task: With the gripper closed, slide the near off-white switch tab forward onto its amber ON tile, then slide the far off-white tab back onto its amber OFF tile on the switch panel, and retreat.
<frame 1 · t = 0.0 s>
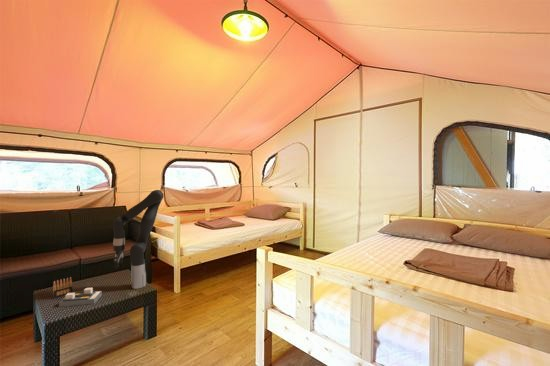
hand: (118, 265, 192), 17 cm above the table, tool pointing down, fingers open, 8 cm apart
switch panel: (81, 300, 174), on the table
switch a: (88, 291, 177), point 5 cm above the table, slide at 0.0 cm
switch b: (70, 296, 169), point 5 cm above the table, slide at 8.0 cm
ammunition clip: (63, 295, 181), on the table
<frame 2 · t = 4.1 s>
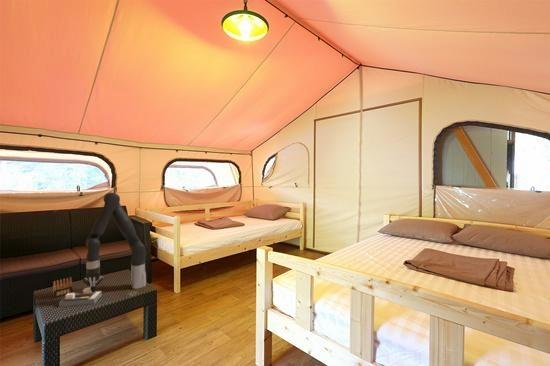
hand: (93, 291, 178), 5 cm above the table, tool pointing down, fingers closed
switch a: (87, 291, 177), point 5 cm above the table, slide at 0.6 cm, touching gripper
everything else where it was.
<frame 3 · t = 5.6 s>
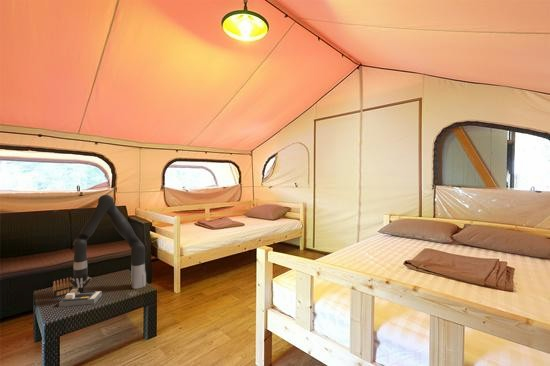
hand: (81, 292, 176), 5 cm above the table, tool pointing down, fingers closed
switch a: (74, 292, 175), point 5 cm above the table, slide at 8.1 cm, touching gripper
everything else where it was.
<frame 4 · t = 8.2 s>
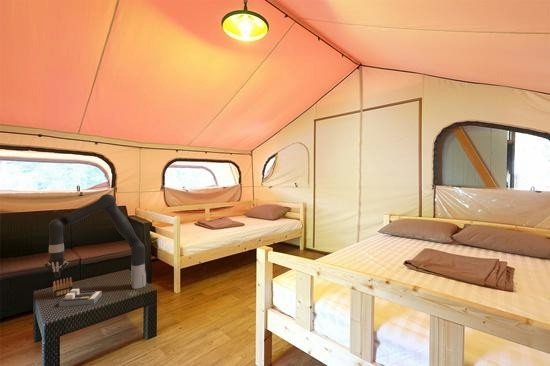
hand: (57, 276, 167), 19 cm above the table, tool pointing down, fingers closed
switch a: (74, 292, 175), point 5 cm above the table, slide at 8.1 cm
everything else where it was.
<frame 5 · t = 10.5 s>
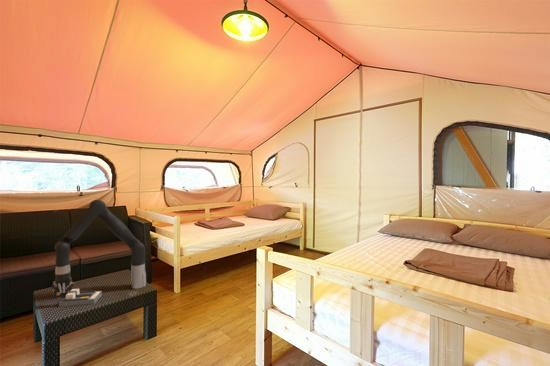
hand: (63, 297, 169), 4 cm above the table, tool pointing down, fingers closed
switch b: (70, 296, 170), point 5 cm above the table, slide at 7.7 cm, touching gripper
everything else where it was.
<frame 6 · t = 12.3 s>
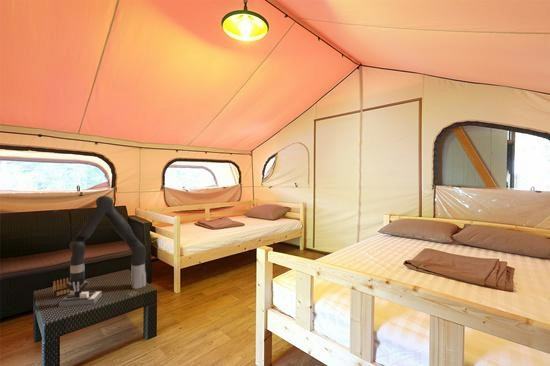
hand: (77, 296, 171), 5 cm above the table, tool pointing down, fingers closed
switch b: (84, 295, 171), point 5 cm above the table, slide at -0.1 cm, touching gripper
everything else where it was.
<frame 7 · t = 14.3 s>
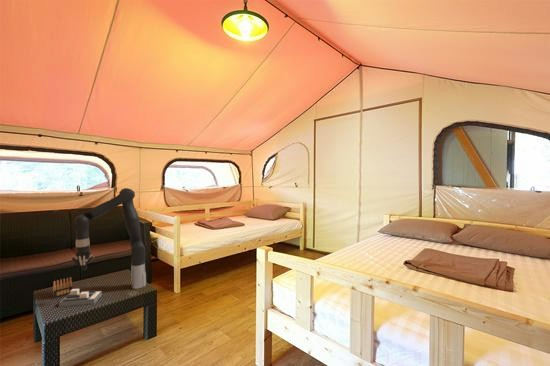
hand: (84, 270, 174), 20 cm above the table, tool pointing down, fingers closed
switch b: (84, 295, 171), point 5 cm above the table, slide at -0.1 cm
everything else where it was.
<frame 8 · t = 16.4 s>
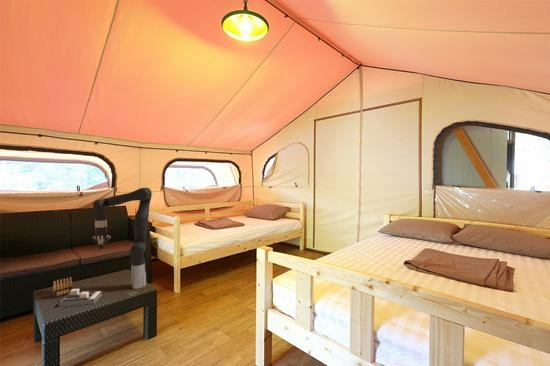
hand: (101, 248, 193), 29 cm above the table, tool pointing down, fingers closed
nothing on the table moved.
at the end: switch a slide at 8.1 cm; switch b slide at -0.1 cm; ammunition clip moved 0.3 cm from its start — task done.
